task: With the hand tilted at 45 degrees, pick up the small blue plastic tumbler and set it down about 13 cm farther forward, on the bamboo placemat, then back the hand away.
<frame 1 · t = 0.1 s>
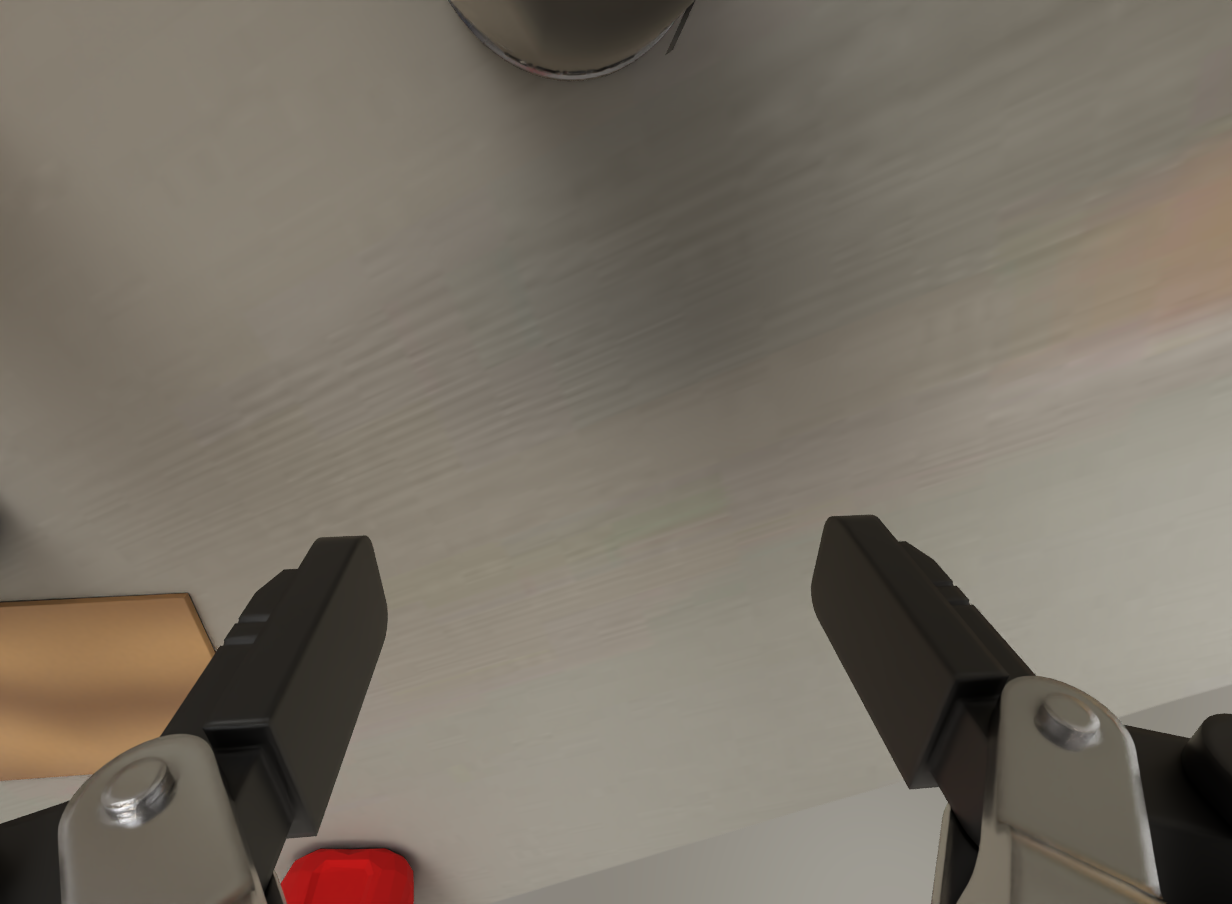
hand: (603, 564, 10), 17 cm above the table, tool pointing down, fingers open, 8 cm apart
water bottle: (356, 864, 45), on the table
mat: (47, 693, 33), on the table
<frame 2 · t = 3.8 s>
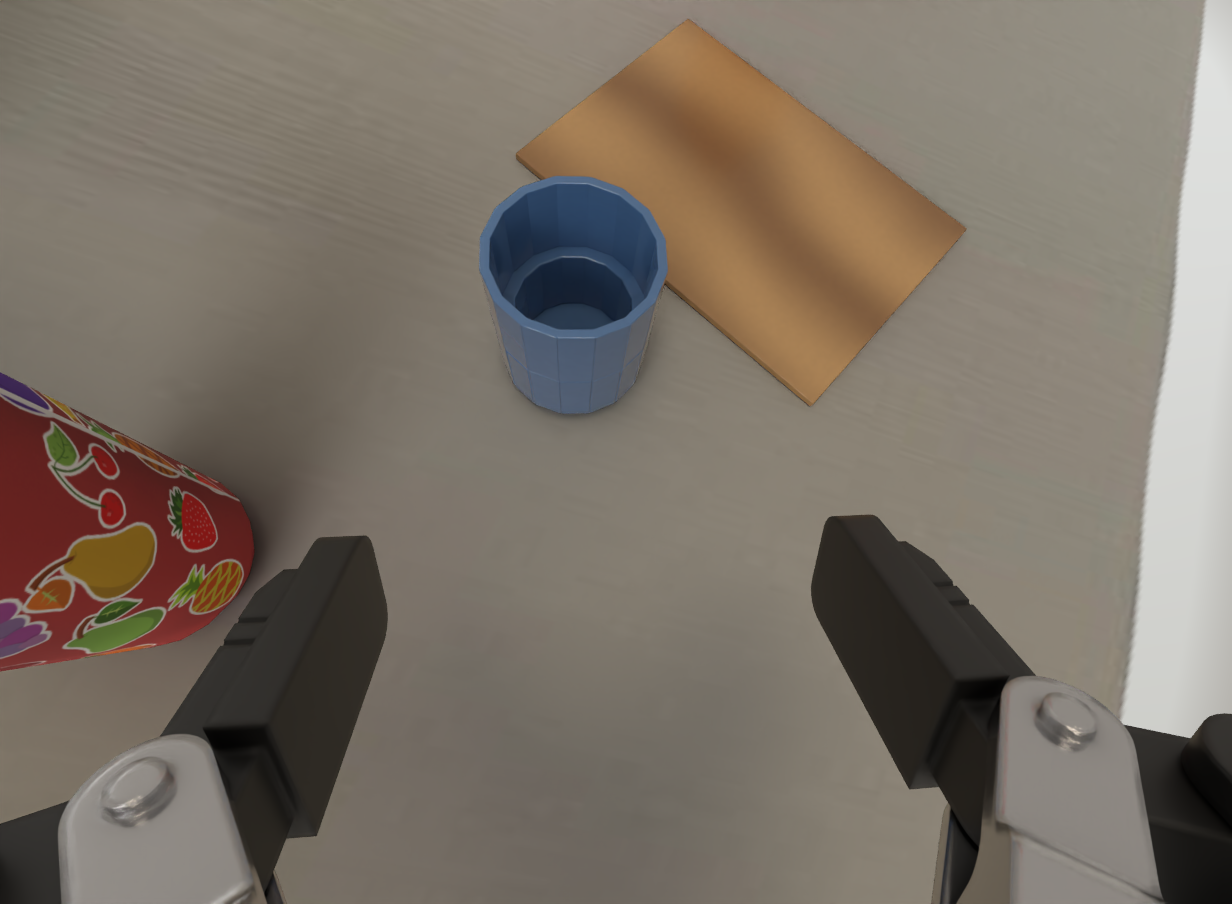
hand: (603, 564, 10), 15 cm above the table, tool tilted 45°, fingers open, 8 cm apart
smoothie: (186, 559, 24), on the table
blue plastic tumbler: (573, 354, 28), on the table
mat: (742, 196, 31), on the table
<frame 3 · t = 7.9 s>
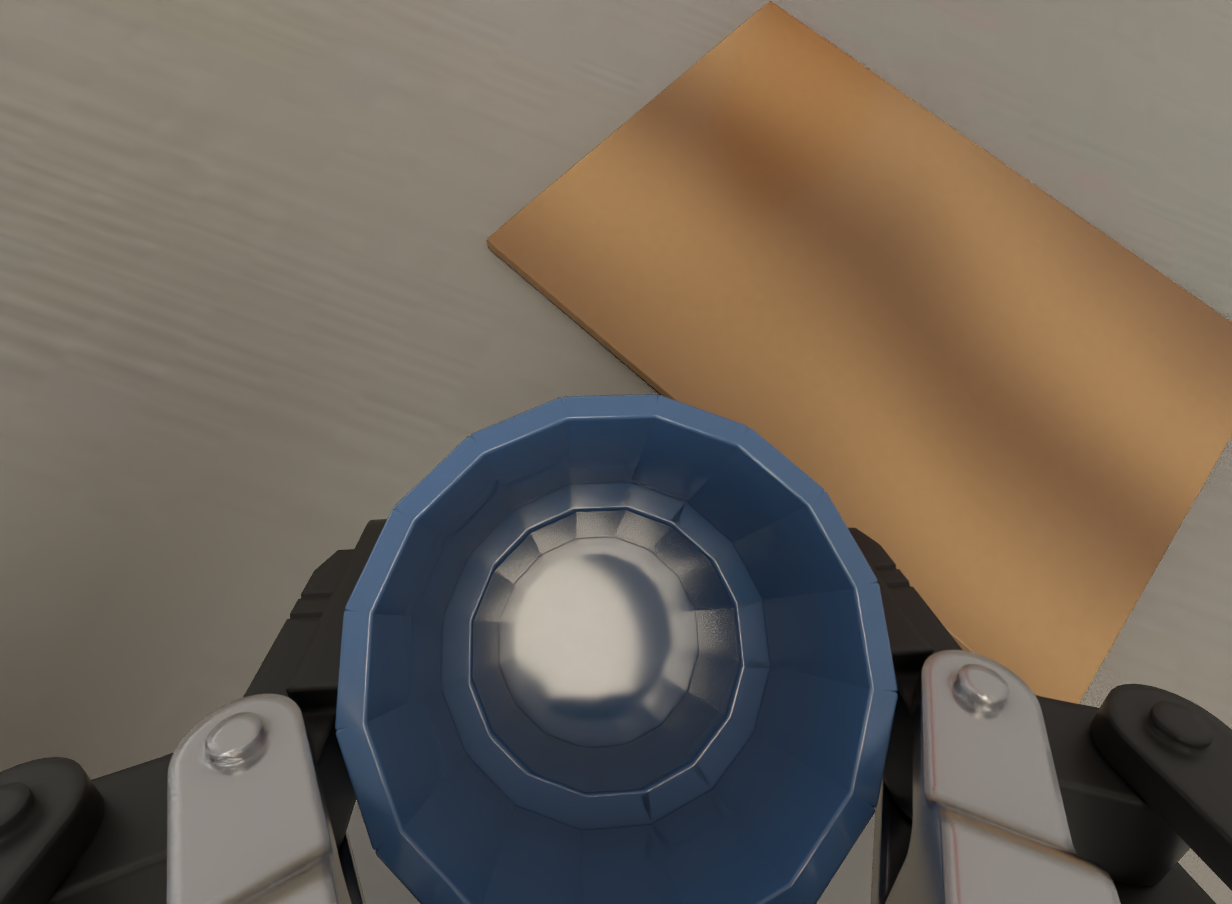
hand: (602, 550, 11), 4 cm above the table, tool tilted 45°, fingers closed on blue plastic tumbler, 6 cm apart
blue plastic tumbler: (598, 636, 14), on the table, touching gripper
mat: (883, 304, 18), on the table
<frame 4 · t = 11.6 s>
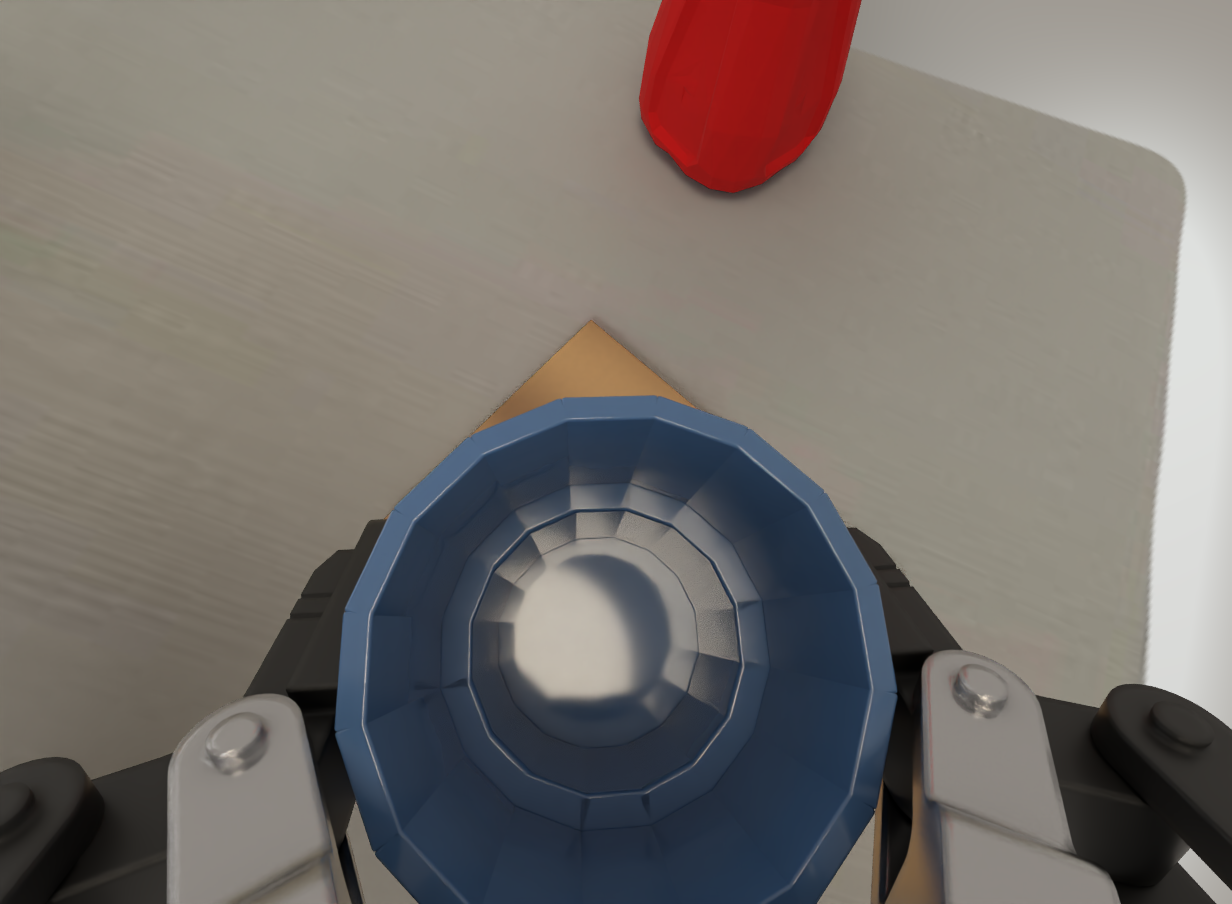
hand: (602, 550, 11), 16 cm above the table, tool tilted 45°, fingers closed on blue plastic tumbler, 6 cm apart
water bottle: (712, 140, 34), on the table
blue plastic tumbler: (598, 636, 14), point 12 cm above the table, touching gripper
mat: (648, 553, 27), on the table
when the fingers open (5 cm above the table, at t = 15.8 s): blue plastic tumbler stays where it is, resting on mat.
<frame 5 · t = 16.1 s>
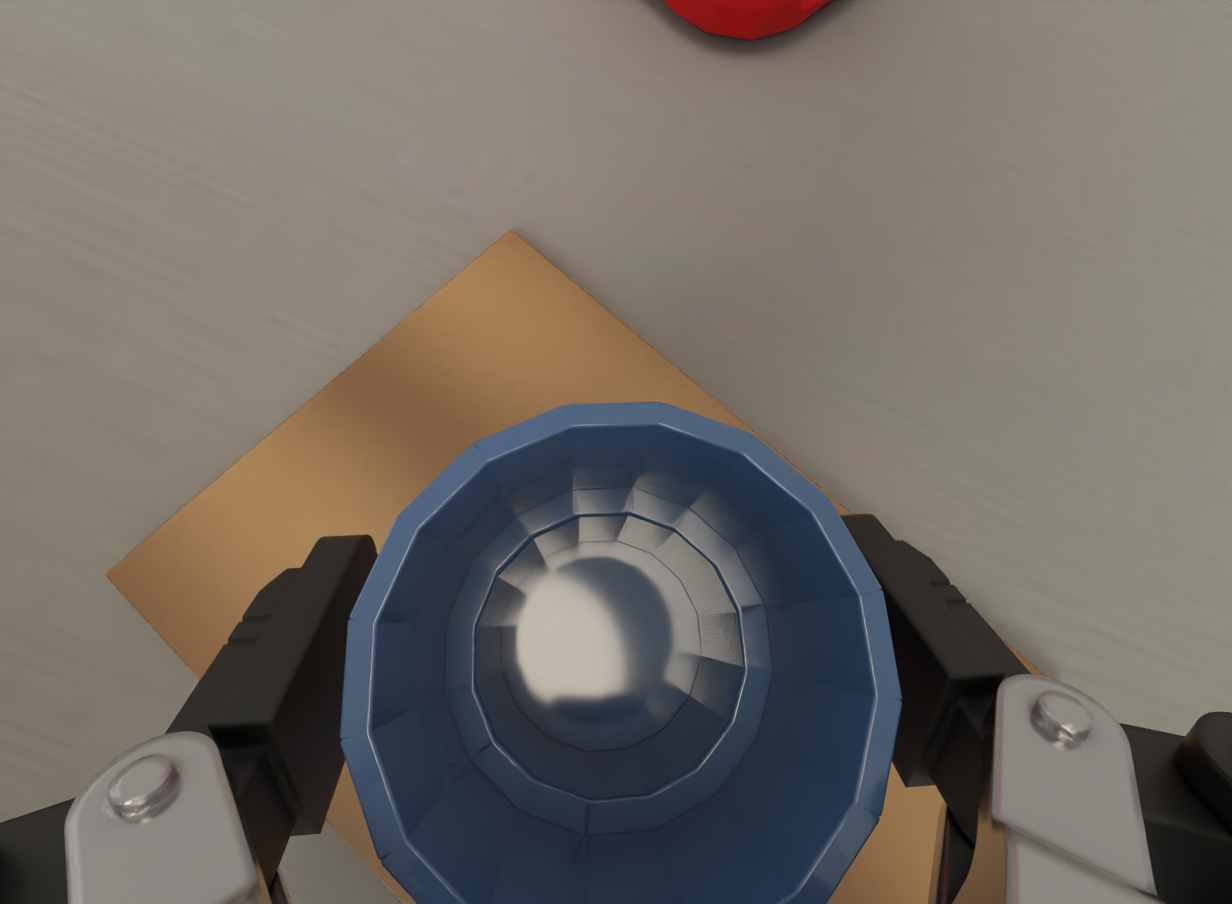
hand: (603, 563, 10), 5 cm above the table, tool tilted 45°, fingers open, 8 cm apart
blue plastic tumbler: (600, 640, 14), resting on mat
mat: (597, 635, 15), on the table
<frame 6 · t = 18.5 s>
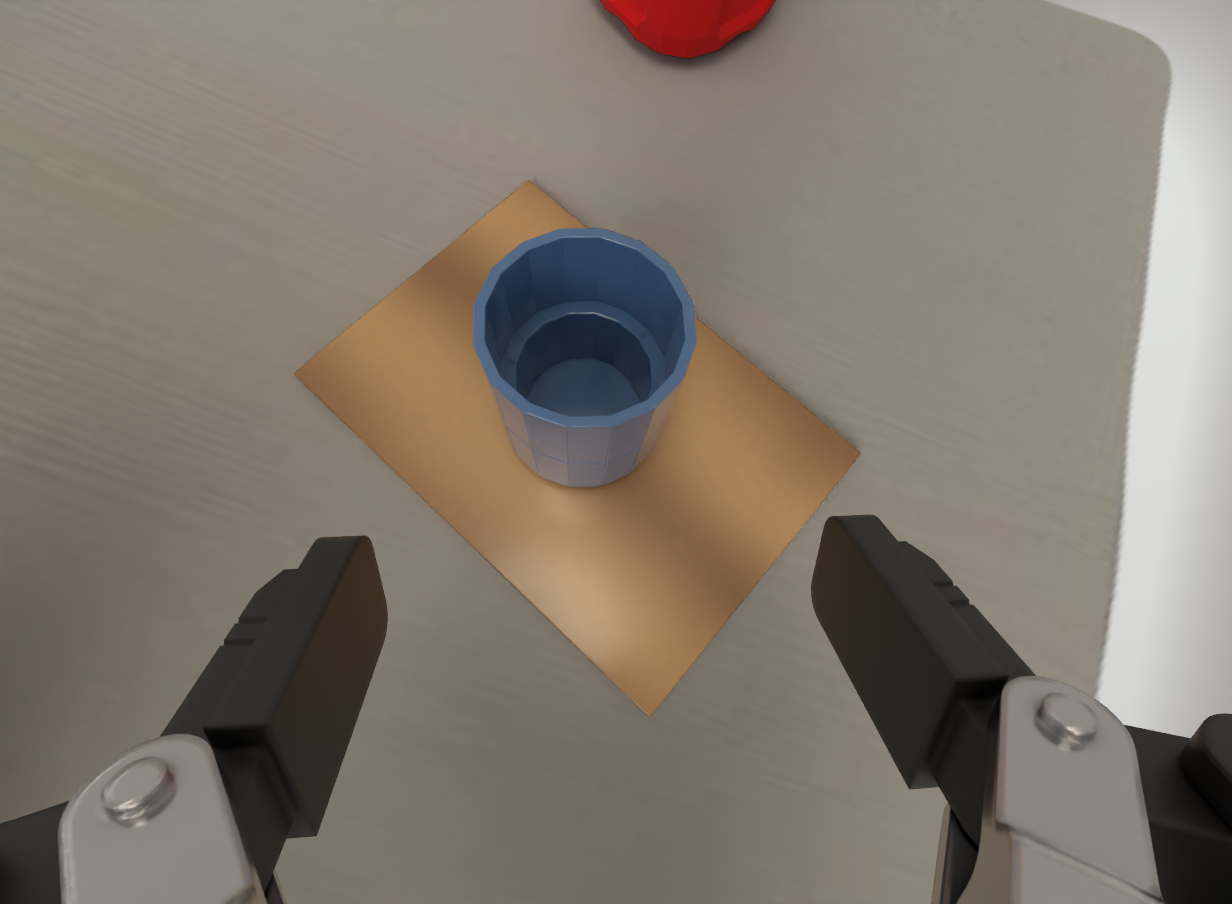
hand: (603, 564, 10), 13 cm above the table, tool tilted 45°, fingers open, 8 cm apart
water bottle: (667, 10, 32), on the table
blue plastic tumbler: (582, 415, 25), resting on mat
mat: (581, 416, 25), on the table
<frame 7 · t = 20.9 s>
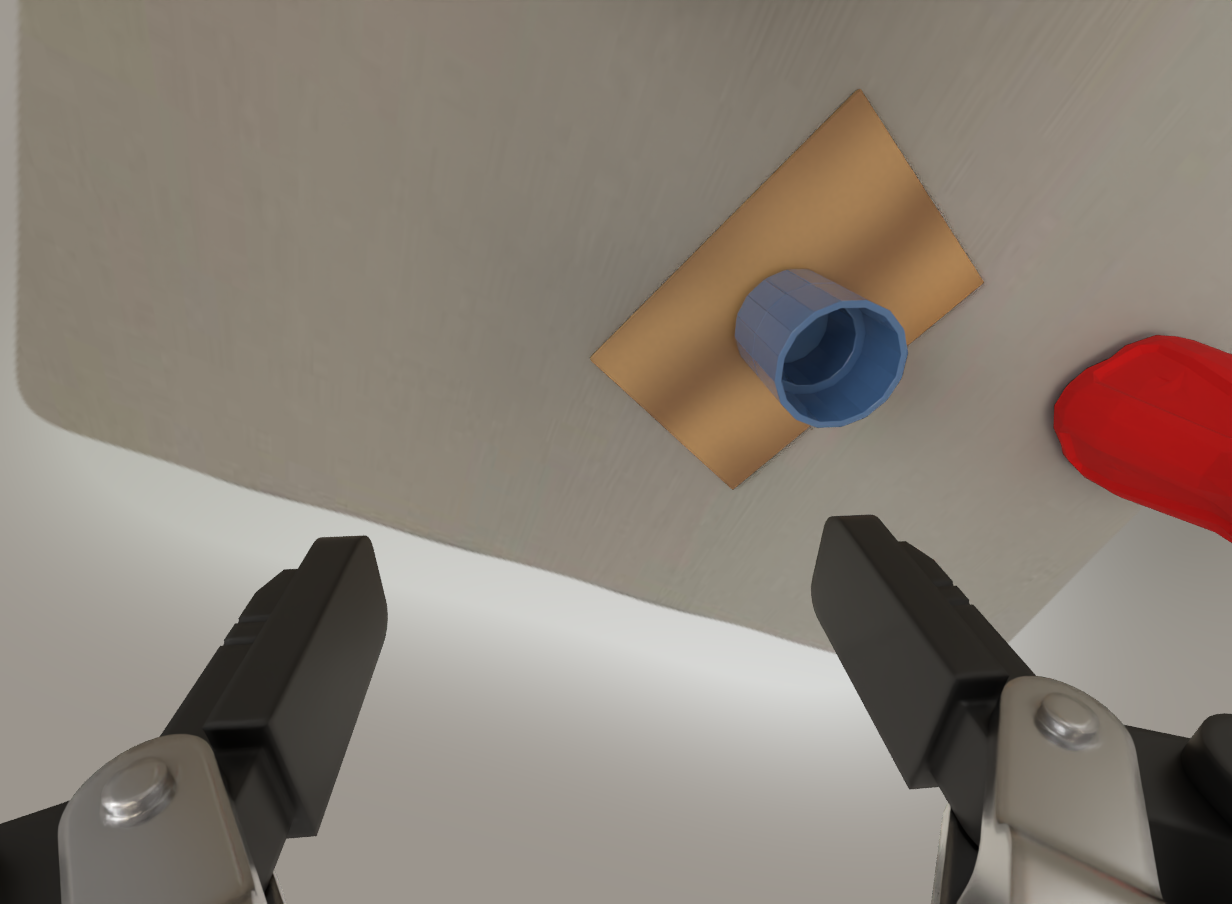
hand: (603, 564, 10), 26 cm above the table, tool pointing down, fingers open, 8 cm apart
water bottle: (1108, 391, 40), on the table
blue plastic tumbler: (785, 322, 35), resting on mat
mat: (784, 319, 35), on the table
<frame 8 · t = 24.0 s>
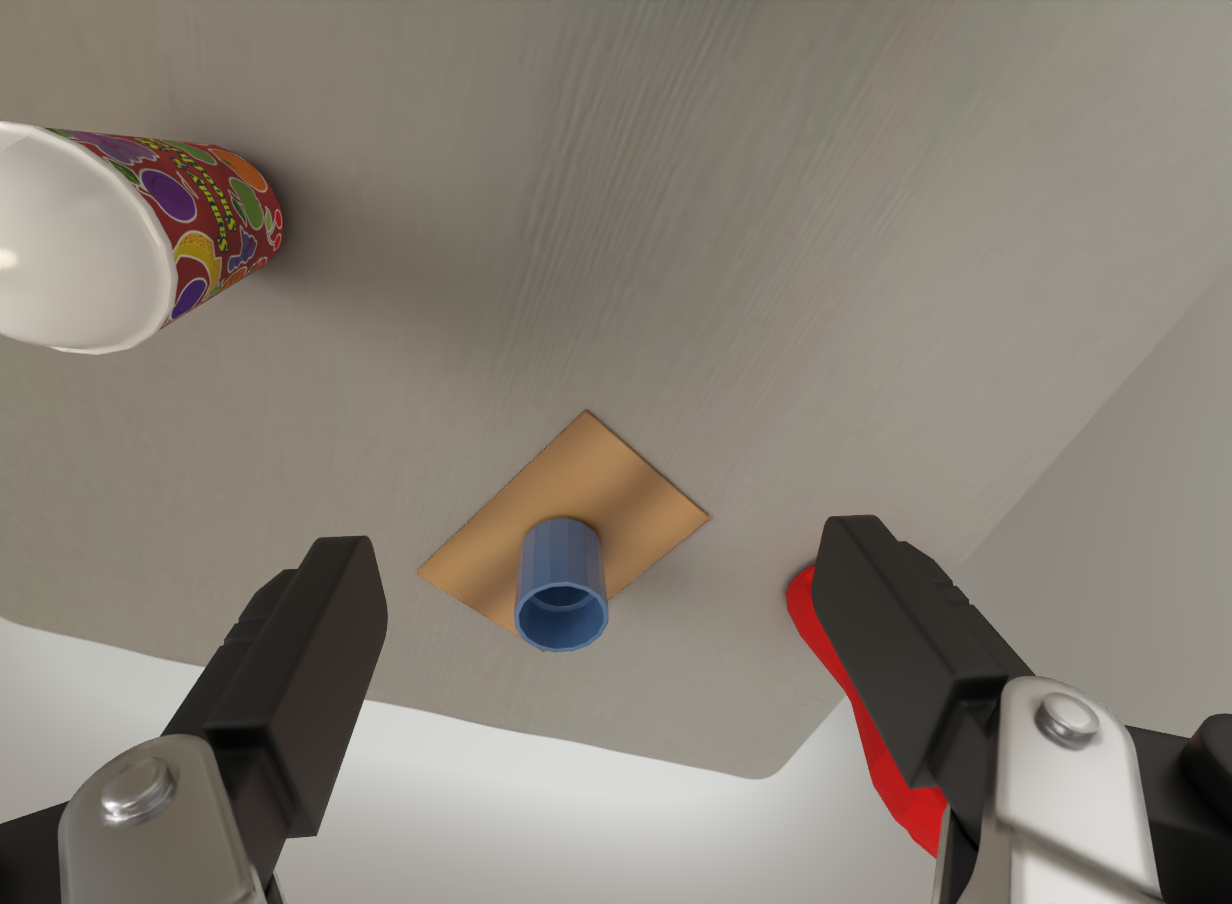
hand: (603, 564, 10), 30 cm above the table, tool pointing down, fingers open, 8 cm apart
smoothie: (232, 208, 34), on the table
water bottle: (831, 579, 52), on the table
blue plastic tumbler: (561, 546, 47), resting on mat
mat: (562, 543, 47), on the table
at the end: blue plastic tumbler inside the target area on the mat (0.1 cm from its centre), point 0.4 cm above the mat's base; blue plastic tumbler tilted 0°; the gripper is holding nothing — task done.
